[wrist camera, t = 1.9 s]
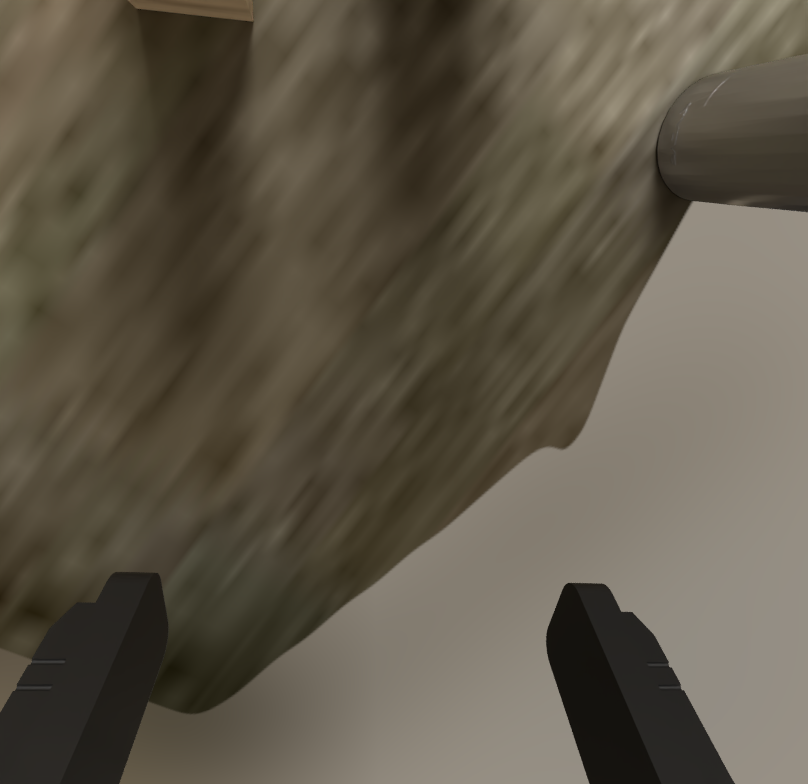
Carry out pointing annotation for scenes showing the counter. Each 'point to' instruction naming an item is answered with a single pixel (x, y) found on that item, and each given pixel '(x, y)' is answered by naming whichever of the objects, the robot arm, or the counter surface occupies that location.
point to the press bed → (201, 7)
